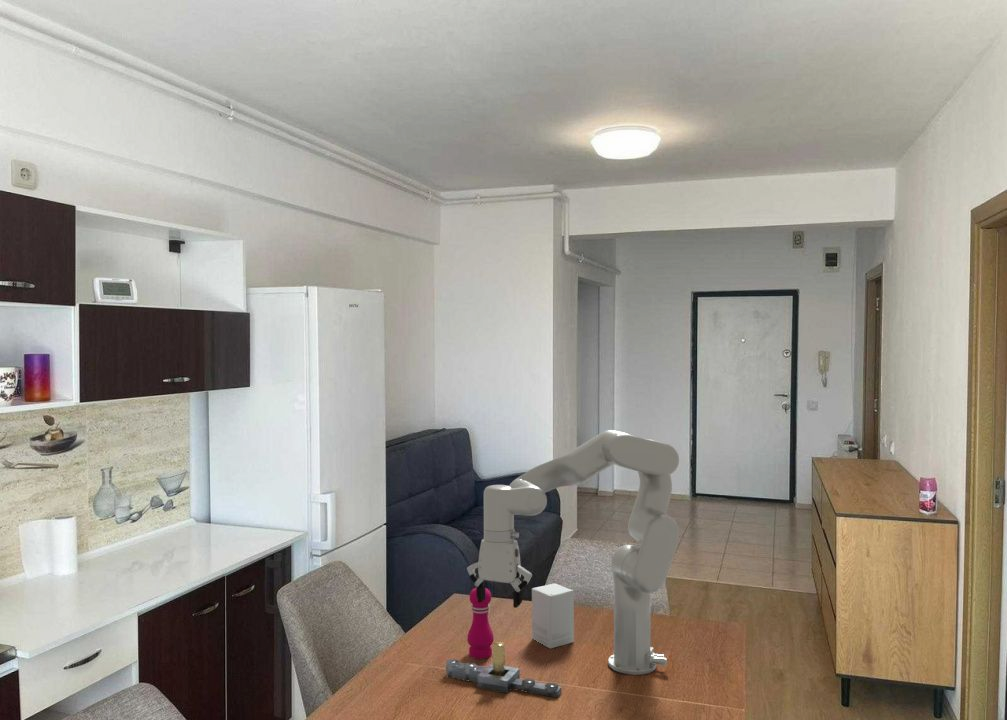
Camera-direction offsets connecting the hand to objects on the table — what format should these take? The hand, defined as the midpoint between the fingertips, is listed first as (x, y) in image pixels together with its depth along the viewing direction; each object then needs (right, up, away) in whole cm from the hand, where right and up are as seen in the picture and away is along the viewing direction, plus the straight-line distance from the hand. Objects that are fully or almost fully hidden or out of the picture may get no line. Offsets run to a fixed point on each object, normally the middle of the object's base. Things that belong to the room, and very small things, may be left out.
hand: (499, 603), depth 194 cm
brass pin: (0, -20, 0) cm, 20 cm away
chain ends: (0, -20, 0) cm, 20 cm away
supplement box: (+15, -20, +29) cm, 38 cm away
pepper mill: (-5, -20, +19) cm, 28 cm away
